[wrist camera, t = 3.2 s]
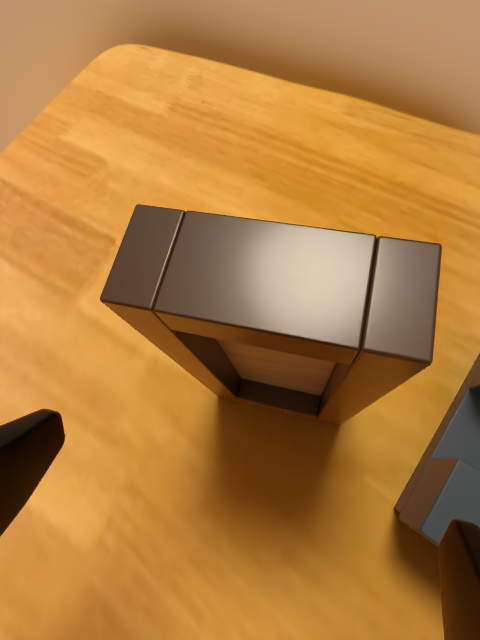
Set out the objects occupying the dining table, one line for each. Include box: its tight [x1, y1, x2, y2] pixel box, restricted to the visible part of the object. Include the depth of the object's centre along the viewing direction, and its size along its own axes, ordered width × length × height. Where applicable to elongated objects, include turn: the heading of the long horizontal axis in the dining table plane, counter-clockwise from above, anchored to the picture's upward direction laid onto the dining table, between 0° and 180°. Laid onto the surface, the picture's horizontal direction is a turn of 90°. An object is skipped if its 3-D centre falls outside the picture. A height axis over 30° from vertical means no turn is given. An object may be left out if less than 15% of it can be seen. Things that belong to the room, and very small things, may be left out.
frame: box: [100, 204, 442, 425], centre depth 13 cm, size 2×6×13 cm, turn 76°
